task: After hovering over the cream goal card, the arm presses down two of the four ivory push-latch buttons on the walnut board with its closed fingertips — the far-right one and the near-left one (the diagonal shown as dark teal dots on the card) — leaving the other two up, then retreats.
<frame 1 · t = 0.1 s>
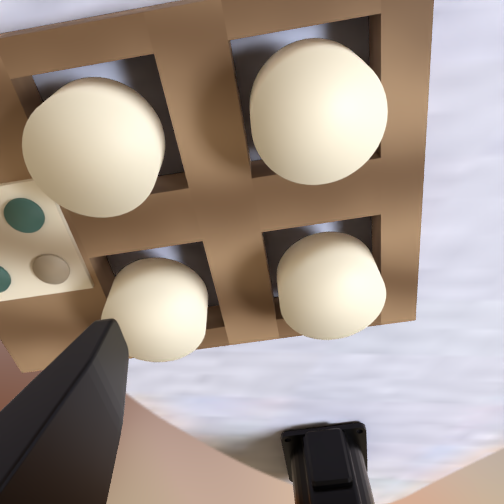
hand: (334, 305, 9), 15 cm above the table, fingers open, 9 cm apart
button B: (314, 113, 18), point 3 cm above the table, slide at 0.0 cm
button D: (98, 149, 19), point 3 cm above the table, slide at 0.0 cm
board: (180, 199, 24), on the table
button C: (157, 310, 24), point 3 cm above the table, slide at 0.0 cm
button A: (328, 286, 23), point 3 cm above the table, slide at 0.0 cm
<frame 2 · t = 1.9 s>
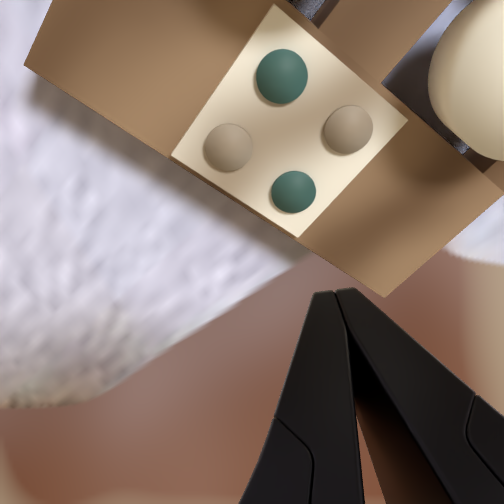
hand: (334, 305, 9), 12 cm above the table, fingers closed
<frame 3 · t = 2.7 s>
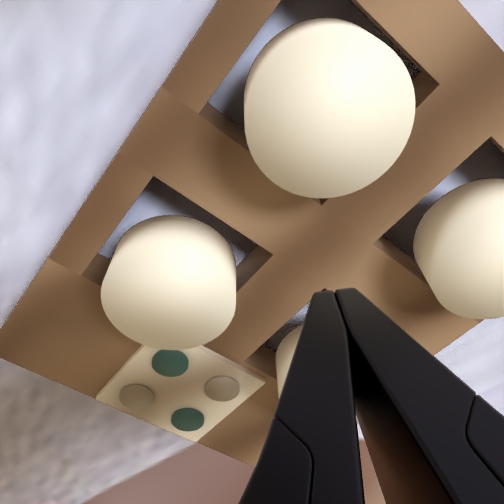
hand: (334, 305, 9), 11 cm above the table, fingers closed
button B: (323, 110, 15), point 3 cm above the table, slide at 0.0 cm
button D: (172, 284, 19), point 3 cm above the table, slide at 0.0 cm
board: (281, 260, 22), on the table
button C: (331, 374, 22), point 3 cm above the table, slide at 0.0 cm
button A: (488, 250, 18), point 3 cm above the table, slide at 0.0 cm
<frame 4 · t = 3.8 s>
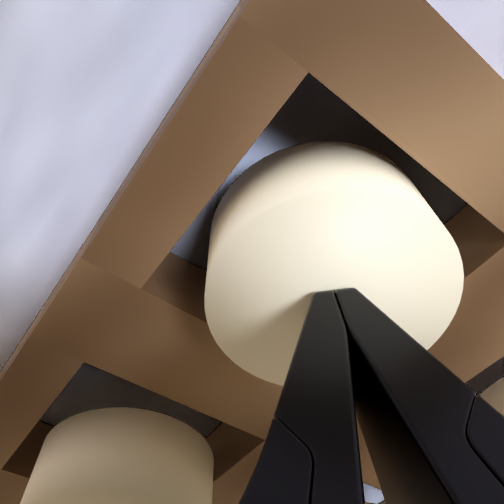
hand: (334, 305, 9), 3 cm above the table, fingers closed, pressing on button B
button B: (323, 271, 10), point 2 cm above the table, slide at 1.1 cm, touching gripper
button D: (121, 498, 13), point 3 cm above the table, slide at 0.0 cm
board: (278, 418, 17), on the table
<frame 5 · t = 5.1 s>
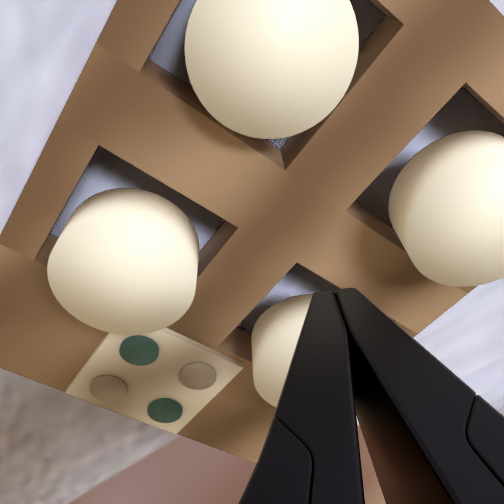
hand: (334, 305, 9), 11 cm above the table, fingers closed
button B: (269, 47, 15), point 2 cm above the table, slide at 1.5 cm
button D: (128, 263, 17), point 3 cm above the table, slide at 0.0 cm
board: (252, 236, 21), on the table
button C: (310, 355, 21), point 3 cm above the table, slide at 0.0 cm
button A: (469, 210, 17), point 3 cm above the table, slide at 0.0 cm
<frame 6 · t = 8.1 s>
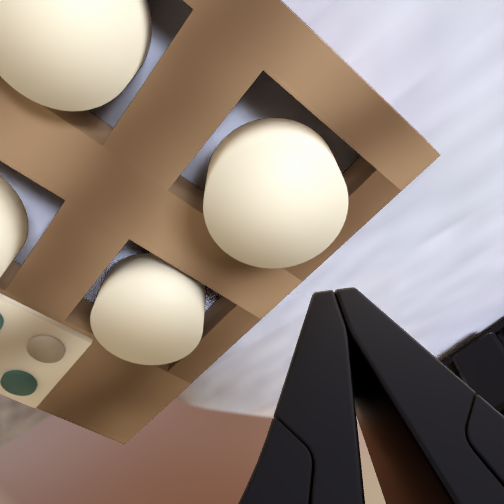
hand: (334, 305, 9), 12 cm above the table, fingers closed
button B: (67, 23, 15), point 2 cm above the table, slide at 1.5 cm
board: (98, 213, 21), on the table
button C: (151, 310, 22), point 2 cm above the table, slide at 1.5 cm
button A: (273, 195, 17), point 3 cm above the table, slide at 0.0 cm
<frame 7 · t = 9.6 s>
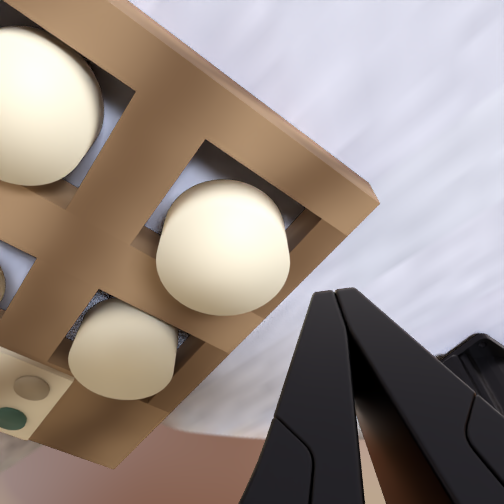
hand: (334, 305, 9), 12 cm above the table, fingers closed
button B: (24, 107, 17), point 2 cm above the table, slide at 1.5 cm
board: (72, 262, 23), on the table
button C: (126, 349, 24), point 2 cm above the table, slide at 1.5 cm
button A: (224, 249, 19), point 3 cm above the table, slide at 0.0 cm
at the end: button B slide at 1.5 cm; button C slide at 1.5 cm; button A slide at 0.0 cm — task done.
